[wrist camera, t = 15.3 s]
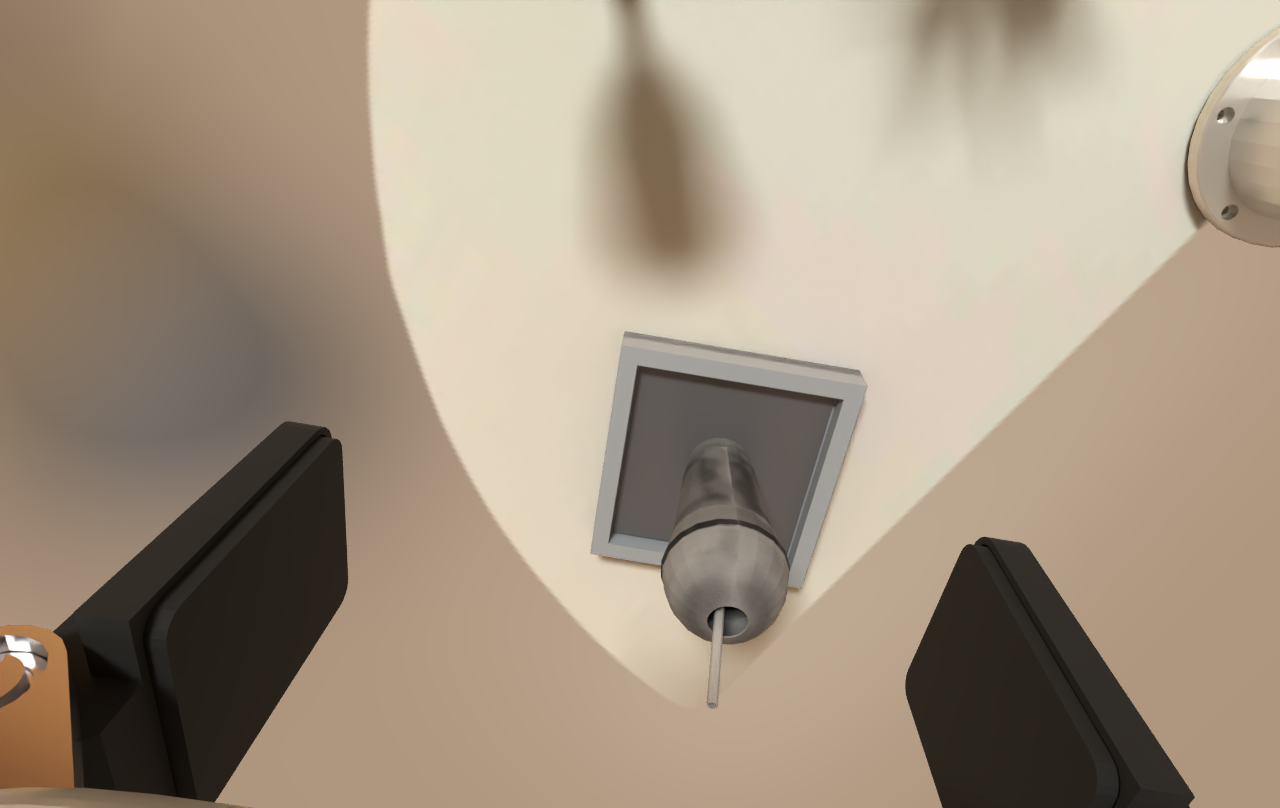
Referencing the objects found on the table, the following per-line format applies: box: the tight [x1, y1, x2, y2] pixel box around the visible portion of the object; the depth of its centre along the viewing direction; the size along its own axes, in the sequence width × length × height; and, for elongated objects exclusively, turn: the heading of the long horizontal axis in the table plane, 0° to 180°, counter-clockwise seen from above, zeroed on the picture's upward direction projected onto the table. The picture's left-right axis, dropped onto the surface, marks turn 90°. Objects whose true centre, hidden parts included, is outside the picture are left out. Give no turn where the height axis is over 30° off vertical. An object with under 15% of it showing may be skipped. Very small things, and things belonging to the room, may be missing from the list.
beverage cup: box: [661, 438, 790, 709], centre depth 42 cm, size 7×7×20 cm
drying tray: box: [590, 331, 868, 589], centre depth 51 cm, size 16×17×2 cm
